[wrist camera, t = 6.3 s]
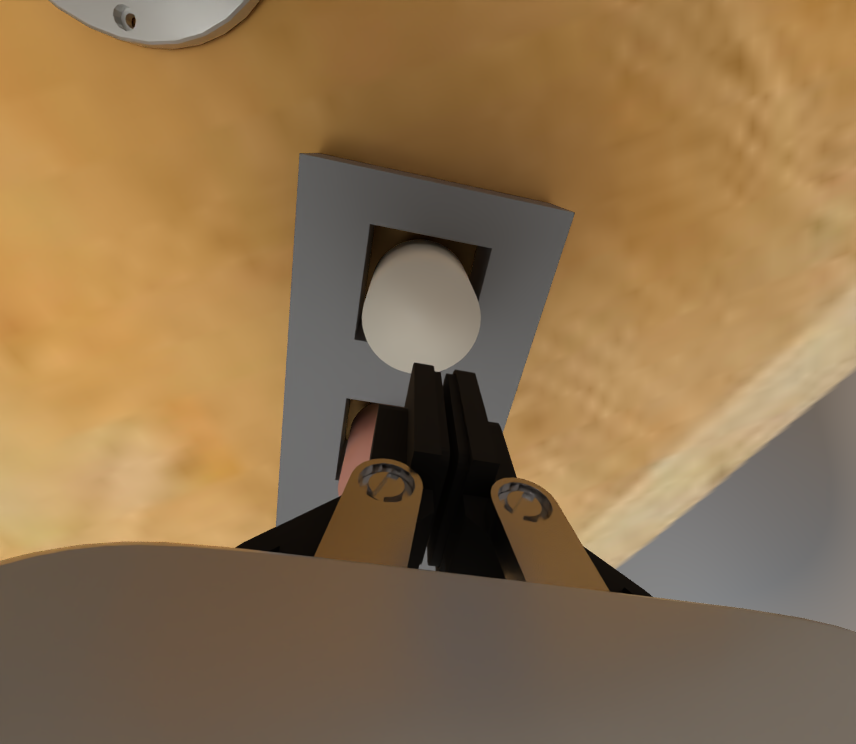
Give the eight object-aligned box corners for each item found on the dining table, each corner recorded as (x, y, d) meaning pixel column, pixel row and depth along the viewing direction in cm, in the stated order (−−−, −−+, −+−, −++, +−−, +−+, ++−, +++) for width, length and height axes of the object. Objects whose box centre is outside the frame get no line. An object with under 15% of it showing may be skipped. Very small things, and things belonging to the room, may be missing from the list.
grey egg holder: (318, 153, 22) (299, 153, 18) (549, 203, 23) (575, 212, 19) (286, 552, 34) (271, 599, 30) (439, 569, 35) (442, 616, 32)
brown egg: (355, 393, 25) (343, 444, 20) (439, 406, 25) (444, 459, 21) (345, 461, 27) (333, 520, 22) (423, 472, 27) (425, 532, 23)
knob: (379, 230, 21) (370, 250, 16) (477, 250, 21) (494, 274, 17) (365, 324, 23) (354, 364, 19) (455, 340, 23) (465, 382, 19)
